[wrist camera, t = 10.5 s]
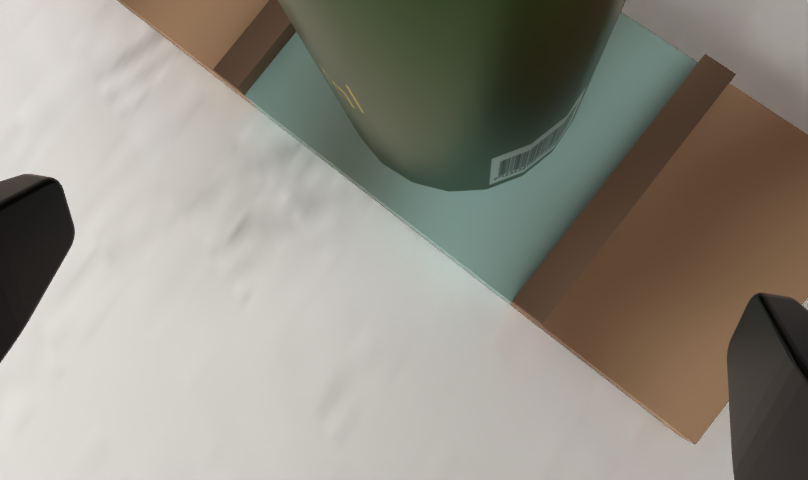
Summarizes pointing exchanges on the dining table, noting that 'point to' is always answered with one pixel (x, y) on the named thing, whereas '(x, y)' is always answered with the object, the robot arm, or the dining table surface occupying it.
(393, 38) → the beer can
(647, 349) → the board
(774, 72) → the dining table surface
